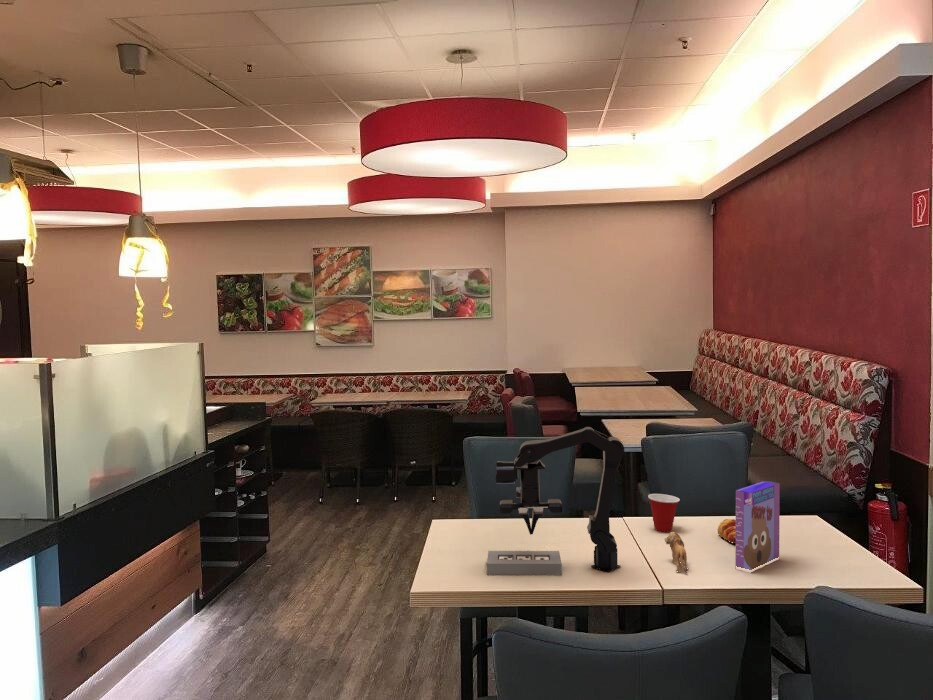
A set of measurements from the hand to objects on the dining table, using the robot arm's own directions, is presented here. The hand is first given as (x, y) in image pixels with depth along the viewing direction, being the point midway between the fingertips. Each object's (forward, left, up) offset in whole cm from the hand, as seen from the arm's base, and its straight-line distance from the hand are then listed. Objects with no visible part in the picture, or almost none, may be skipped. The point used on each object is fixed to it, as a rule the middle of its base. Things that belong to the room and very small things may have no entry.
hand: (531, 534), depth 232 cm
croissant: (-27, -70, -11) cm, 76 cm away
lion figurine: (-30, -32, -10) cm, 45 cm away
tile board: (+1, +3, -10) cm, 10 cm away
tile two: (+1, +3, -9) cm, 9 cm away
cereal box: (-46, -50, -10) cm, 69 cm away
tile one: (-3, -1, -9) cm, 10 cm away
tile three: (+5, +7, -9) cm, 12 cm away
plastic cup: (-6, -60, -10) cm, 62 cm away
